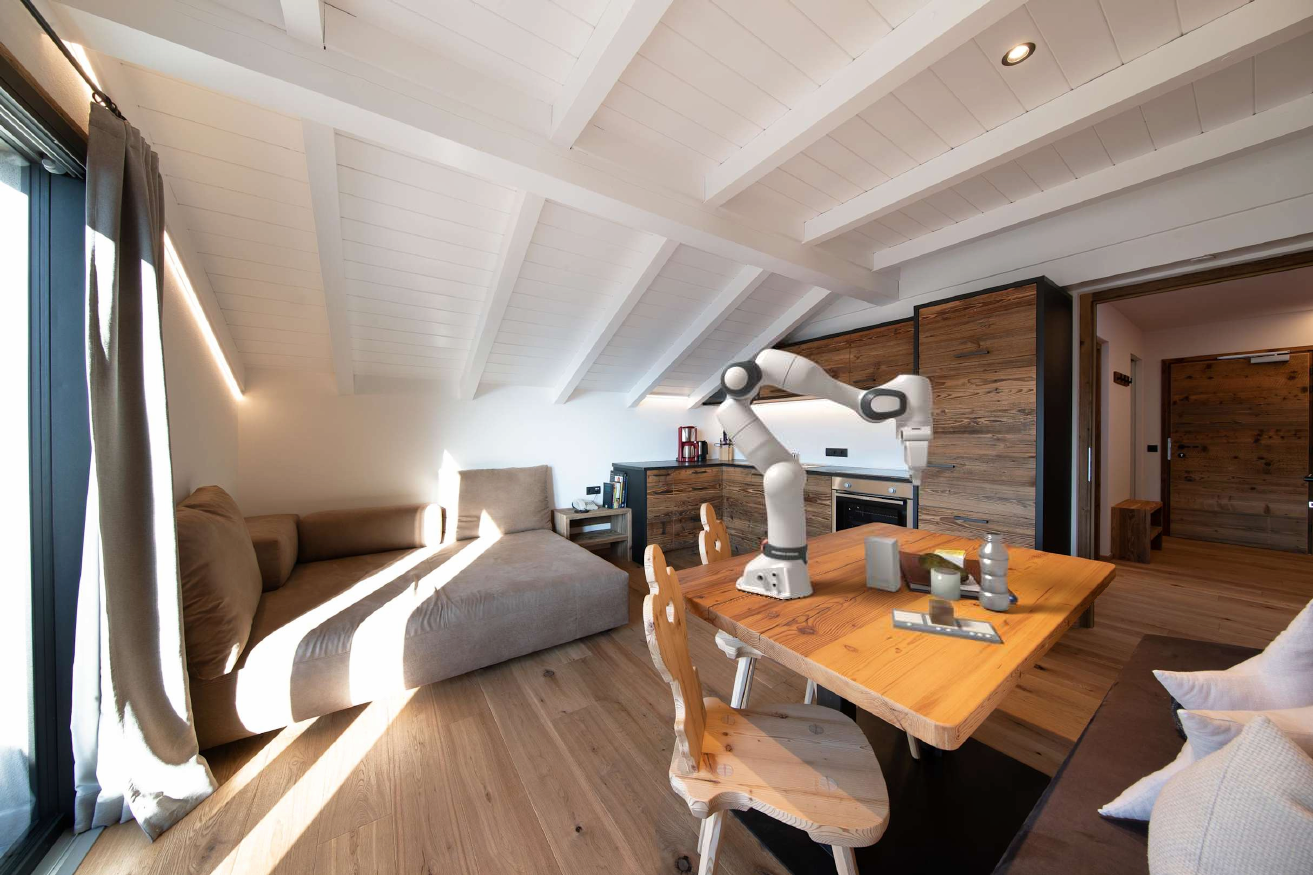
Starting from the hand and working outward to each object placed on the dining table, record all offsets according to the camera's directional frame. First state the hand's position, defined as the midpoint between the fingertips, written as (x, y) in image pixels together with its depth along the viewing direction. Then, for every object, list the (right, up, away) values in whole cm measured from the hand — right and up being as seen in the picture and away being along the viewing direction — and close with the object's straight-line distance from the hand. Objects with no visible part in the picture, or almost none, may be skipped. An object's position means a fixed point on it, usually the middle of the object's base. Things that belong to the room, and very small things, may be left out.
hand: (914, 482), depth 121 cm
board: (-2, -33, -15) cm, 37 cm away
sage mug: (+11, -33, +4) cm, 35 cm away
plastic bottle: (+18, -33, -5) cm, 38 cm away
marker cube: (-2, -32, -14) cm, 35 cm away
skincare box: (-3, -33, +12) cm, 35 cm away
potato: (+19, -33, +17) cm, 41 cm away
